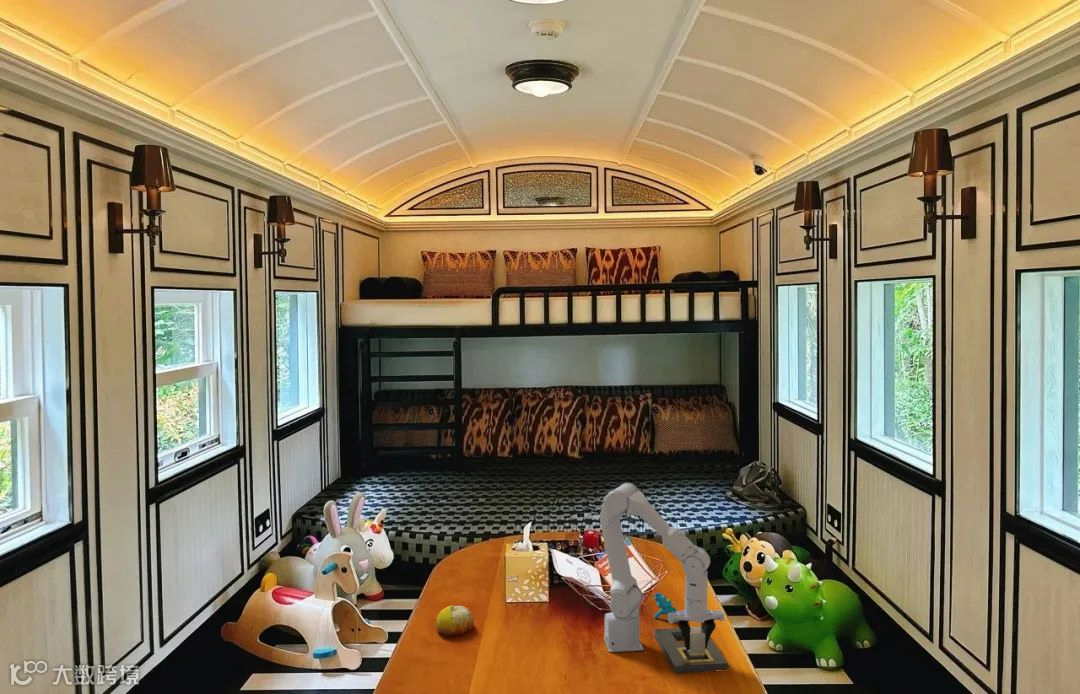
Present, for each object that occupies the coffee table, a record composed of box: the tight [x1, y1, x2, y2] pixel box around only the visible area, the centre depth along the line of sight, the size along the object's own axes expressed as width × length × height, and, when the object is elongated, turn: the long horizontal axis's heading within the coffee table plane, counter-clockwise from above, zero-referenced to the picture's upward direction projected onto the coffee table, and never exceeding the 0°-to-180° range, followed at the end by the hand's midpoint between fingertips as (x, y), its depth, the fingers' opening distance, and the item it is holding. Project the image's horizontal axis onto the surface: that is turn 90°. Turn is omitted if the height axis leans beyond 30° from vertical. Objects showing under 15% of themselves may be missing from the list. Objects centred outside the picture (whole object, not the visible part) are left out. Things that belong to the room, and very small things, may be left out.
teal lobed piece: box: [653, 591, 678, 624], centre depth 208 cm, size 11×6×10 cm
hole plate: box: [653, 627, 729, 675], centre depth 188 cm, size 14×20×2 cm
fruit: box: [435, 604, 474, 637], centre depth 202 cm, size 11×10×8 cm
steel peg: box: [685, 626, 705, 660], centre depth 183 cm, size 4×4×8 cm
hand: (695, 647), depth 183 cm, fingers closed on steel peg, 4 cm apart
